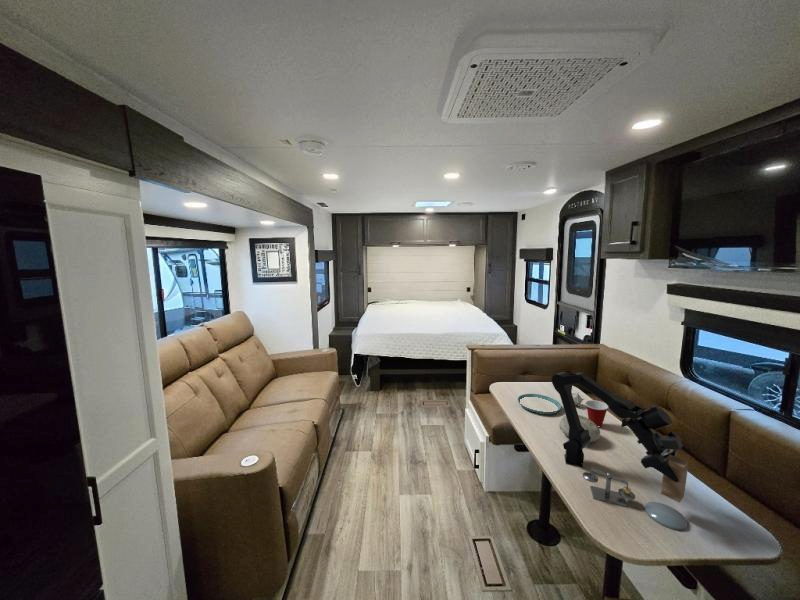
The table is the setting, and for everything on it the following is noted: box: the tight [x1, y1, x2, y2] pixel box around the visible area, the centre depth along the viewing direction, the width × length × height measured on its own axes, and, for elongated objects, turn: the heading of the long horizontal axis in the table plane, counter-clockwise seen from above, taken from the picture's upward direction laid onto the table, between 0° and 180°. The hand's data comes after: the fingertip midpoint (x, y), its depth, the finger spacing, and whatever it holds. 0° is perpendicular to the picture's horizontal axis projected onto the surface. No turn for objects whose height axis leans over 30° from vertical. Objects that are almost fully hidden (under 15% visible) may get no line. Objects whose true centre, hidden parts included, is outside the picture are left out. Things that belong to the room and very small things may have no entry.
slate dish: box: [644, 501, 688, 531], centre depth 108 cm, size 11×11×1 cm
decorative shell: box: [558, 414, 601, 443], centre depth 156 cm, size 18×18×10 cm
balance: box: [582, 467, 636, 507], centre depth 116 cm, size 17×6×10 cm, turn 68°
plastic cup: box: [584, 399, 609, 427], centre depth 168 cm, size 11×11×12 cm
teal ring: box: [517, 393, 562, 415], centre depth 190 cm, size 24×24×3 cm
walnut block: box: [660, 455, 689, 504], centre depth 108 cm, size 5×5×13 cm
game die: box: [572, 392, 585, 406], centre depth 191 cm, size 9×8×10 cm
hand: (679, 478), depth 107 cm, fingers closed on walnut block, 5 cm apart
